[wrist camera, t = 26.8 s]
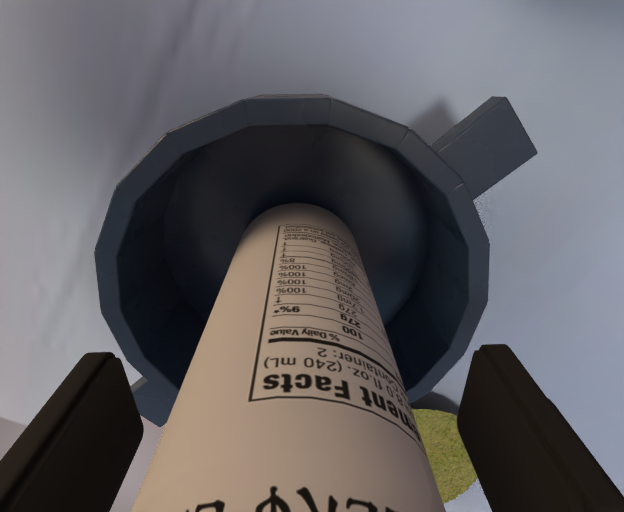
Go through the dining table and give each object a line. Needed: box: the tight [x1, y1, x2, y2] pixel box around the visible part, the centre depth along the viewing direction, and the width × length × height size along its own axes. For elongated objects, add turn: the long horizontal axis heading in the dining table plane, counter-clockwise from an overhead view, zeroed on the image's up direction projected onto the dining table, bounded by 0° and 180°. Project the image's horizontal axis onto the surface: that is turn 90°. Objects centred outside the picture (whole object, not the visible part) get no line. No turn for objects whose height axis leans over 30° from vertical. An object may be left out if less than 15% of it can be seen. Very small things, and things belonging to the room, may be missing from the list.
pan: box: [94, 94, 537, 427], centre depth 17 cm, size 15×21×6 cm
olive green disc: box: [411, 408, 477, 504], centre depth 25 cm, size 11×11×2 cm
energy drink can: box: [131, 203, 446, 512], centre depth 12 cm, size 6×6×15 cm
